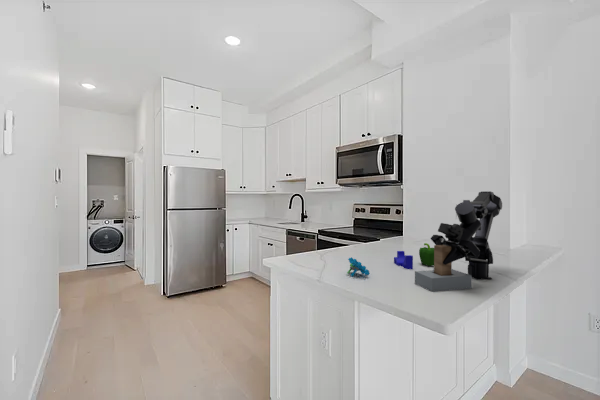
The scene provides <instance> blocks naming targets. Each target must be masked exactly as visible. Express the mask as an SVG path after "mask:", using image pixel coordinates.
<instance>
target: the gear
mask: <svg viewBox="0 0 600 400" xmlns="http://www.w3.org/2000/svg"><path fill="white" fill-rule="evenodd" d="M347 260H348V262H349V270H348V271H347V272H346V273H347V274H350V276H351V277H353V276H354V275H355V274H356V273H357V272H360V273H361V274H363V275H365V276H369V275H370V270H368V268H367V267H366V266H365V265H363V264H362V262H360V261H358V260H357V259H356V258H353V257H348V258H347ZM351 271H352V273H351Z"/></svg>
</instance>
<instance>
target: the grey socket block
mask: <svg viewBox="0 0 600 400" xmlns="http://www.w3.org/2000/svg"><path fill="white" fill-rule="evenodd" d="M472 281H473V278H472V275H469V274H468V273H465V272H462V271H459V270H456V269H453V268H452V270H451V275H446V276H440V275H438V274H435V273H434V269H433V270H432V269H431V270H430V269H429V270H417V271H415V270H414V284H415V285H417V286H420V287H421V288H423V289H426V290H428V291H430V292H433V293H434V292H444V291H454V290H455V291H456V290H467V289H469V288H470V289H472ZM470 289H469V290H470Z"/></svg>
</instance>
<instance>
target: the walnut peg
mask: <svg viewBox="0 0 600 400" xmlns="http://www.w3.org/2000/svg"><path fill="white" fill-rule="evenodd" d="M433 248H434V266H433V270H434V273H435V274H438V275H440V276H446V275H451V270H452V269H453V268H452V265H453V264H452V263H453V262H451V263H448V264H446V265H444V264H443V261H444V259H445V258H446V257H447V255H448V254H449V252H450V251H451V246H446V245H435V244H434V245H433Z"/></svg>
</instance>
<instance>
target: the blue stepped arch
mask: <svg viewBox="0 0 600 400" xmlns="http://www.w3.org/2000/svg"><path fill="white" fill-rule="evenodd" d="M405 254H406V253H405V251H404V250H397V251H396V256H394V258H393V264H395V266H397V267H402V268H403V269H405V270H413V267H414V266H413V265H414V256H413V255H408V254H406V255H405Z"/></svg>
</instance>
